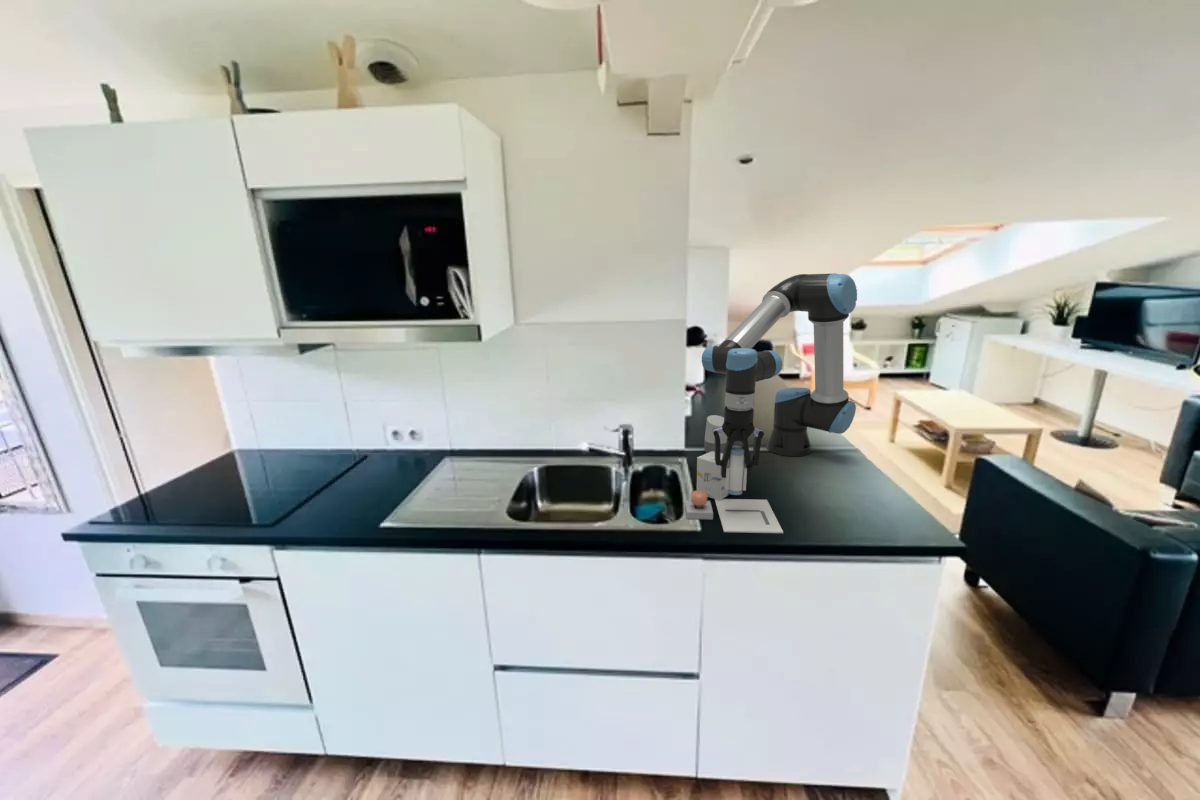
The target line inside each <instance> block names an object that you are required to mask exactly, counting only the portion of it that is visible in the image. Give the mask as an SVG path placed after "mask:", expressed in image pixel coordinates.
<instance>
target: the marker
mask: <svg viewBox="0 0 1200 800" xmlns="http://www.w3.org/2000/svg"><path fill="white" fill-rule="evenodd" d="M744 454H745V452H744V448H743V446H742V445H736V444H735V445H734V444H733V446H732V449H731V453H730V457H729V468H730V470H729V490H727V492H728V493H729V494H730V495H733V496H740V495H742V494H743V489H742V488H743V470H744V465H745V458H744Z"/></svg>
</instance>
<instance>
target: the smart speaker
mask: <svg viewBox="0 0 1200 800" xmlns="http://www.w3.org/2000/svg"><path fill="white" fill-rule="evenodd" d="M723 423H724V416H722V415H716V414H711V415H708V416H707V417H706V423H705V424H706V425H705V432H704V433H705V434H704V439H703V440H704V442H703V448H704V452H705V454H706V453H709V452H711V451H714V452H715V436H714V434H713V431H712V430H713V429H718V428H721V427H722V425H723ZM726 442H727V436H726V434H725V433H724V432H722V436H721V437H720V453H724V450H725V446H726Z"/></svg>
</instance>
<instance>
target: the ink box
mask: <svg viewBox="0 0 1200 800" xmlns="http://www.w3.org/2000/svg"><path fill="white" fill-rule="evenodd" d="M722 457H723V453H720V460H722ZM728 466H729V460H728ZM724 481H725V478H722V476H721V466H720V465H716V463H715V452H714V451H711V452H709V453H706V452H705V453H704V454H702V455H700V456H697V457H696V491H697V490H700V491H704V492H706V493H707V498H710V499H713V500H715V499H717V500H722V499H726V497H728V496H729V495H731V494H729V493H728V492H727V490H726V489H725V487H724Z"/></svg>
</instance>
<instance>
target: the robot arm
mask: <svg viewBox="0 0 1200 800" xmlns="http://www.w3.org/2000/svg"><path fill="white" fill-rule="evenodd" d="M857 300H858V290H857V285H856V283H855V280H854V279H853V278H852V277H851V276H850V275H848V274H846V273H836V272H835V273H807V274H806V273H801V274H795V275H793V276H790V277H788V278H785V279H784V280H782V281H780V282H779V283H777V284H776V285H774V286H773V287H772V288H770V290H768V291H767V292H766V293H765V294H764V295H763V297H762V300H761V302H760V304H759V305H758V306H757V307H756V308H755V309H754V310H753V311H752V312H751V313H750V314H749V315H748V316H747V317H746V318H744V319H743V321H742V322H741V323H740V324H739V325H738V326H737V327H736V328H735V329H734V330H733V331H732V332H731V333H730V334H729V335H728V336H727V337H726V338H725V339H724V340H723V341H722V342H721V343H720V344H719V346H717V345H710V346H707V347H705V348H704V351H702V355H701V364H702V367H703V368H704V369H705V371H709V372H712V373H715V374H723V375H726V376H725V392H724V393H725V396H724V406H725V408H724V413H723V417H724V423H723V425H722V427H721V428H718V429H713V430H712V431H713V434H714V436H715V463H716V465H720V466H721V476H722V478H725V481H724V487H725V489H726V490H729V470H730V468H729V466H728V460H729V457H730V453H731V449H732V446H733V445H734V444H735V442H741V446H743V448H744V452H745V454H744V470H743V488H742V491H745V492H746V491H747V479H751V477H752V476H751V474H752V473H751V472H752V468H753V467H754V466H755V467H758V466H759V461H760V453H761V442H762V440H763V437H764V435H765V433H764V431H763V430H762V428H756V427H755V426H754V416H755V415H754V414H755V413H754V412H755V409H754V407H755V395H756V394H755V393H756V383H757V382H761V381H764V380H769V379H772V378H773V377H775V376H777V375H779V374H780V373H781V371H782V369H783V359H782V356H780V354H779V353H778V352H776V351H774V350H763V351H757V350H756V349H754V347H755V345H756V344H757V343H758V342H759V341H760V340H761V339H762V338H763V337H764V336H765V334H766V333H767V332H768V331H770V330H771V328H773V326H774V325H775V324H776V323H777V322H778V321H779V320H780V319H781V318H785V317H786V316H788V315H789V314H790V313H791V312H807V319H808V321H809V322H811V323H812V324H813V351H814V352H813V355H814V357H813V358H814V390H813V391H812V392H811V389H810V388H808V387H788V388H782V389H779V390H778V391H777V392H776V393H775V396H774V397H775V398H774V402H773V403H774V408H773V427H772V430H771V433H770V434H769V437H768V440H767V443H766V449H767V450H768V451H769V452H771V453H774V454H776V455H780V456H785V457H804V456H806V455H809V454H810V453H811V449H812V448H811V446H812V444H811V440H810V438H809V433H808V428H809V429H815V430H820V431H824V432H828V433H829V434H831V433H832V434H837V435H840V434H844V433H845V432H847V430H848V429H849V428H850V427H851V425H852V423H853V420H854V418H855V414H856V409H857V405H856V403H855V401H853V400H850V399H849V398H850V397H849V393H848V391H847V390H846V389H845V388H844V322H845V321H846V320H847V319H848V318H849V317H850V314H851V313H853V311H854V310H855V307H856V305H857V302H858V301H857ZM722 432H724V433H725V434H726V436H727V442H726V446H725V450H724V453H723V457H722V460H720V437H721V436H722ZM752 434H753V436H754V437H753V448H752V456H751V455H750V449H749V440H748V439H749V437H750V436H751V435H752ZM751 457H752V458H751Z"/></svg>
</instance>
